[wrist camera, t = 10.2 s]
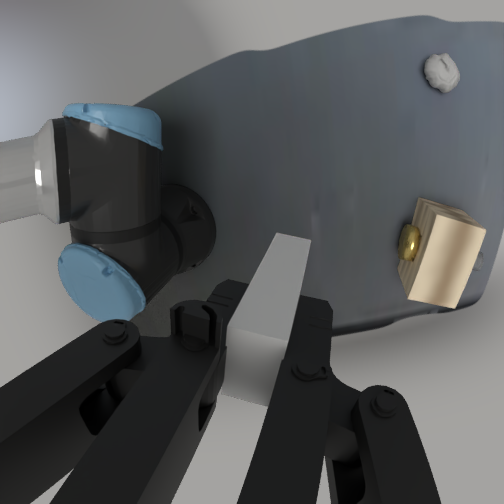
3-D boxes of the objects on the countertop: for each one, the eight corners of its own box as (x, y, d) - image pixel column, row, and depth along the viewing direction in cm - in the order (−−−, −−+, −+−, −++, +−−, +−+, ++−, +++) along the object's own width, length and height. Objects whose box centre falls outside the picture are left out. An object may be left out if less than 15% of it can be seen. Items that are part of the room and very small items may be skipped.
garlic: (418, 52, 31) (428, 44, 27) (451, 59, 30) (464, 53, 25) (420, 90, 34) (431, 86, 29) (453, 96, 32) (467, 94, 28)
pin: (395, 250, 42) (402, 265, 38) (405, 219, 40) (412, 231, 36) (467, 268, 40) (478, 283, 36) (477, 240, 38) (490, 253, 33)
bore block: (397, 269, 45) (407, 298, 37) (418, 197, 40) (436, 214, 32) (438, 278, 43) (454, 308, 36) (462, 210, 38) (486, 229, 30)
